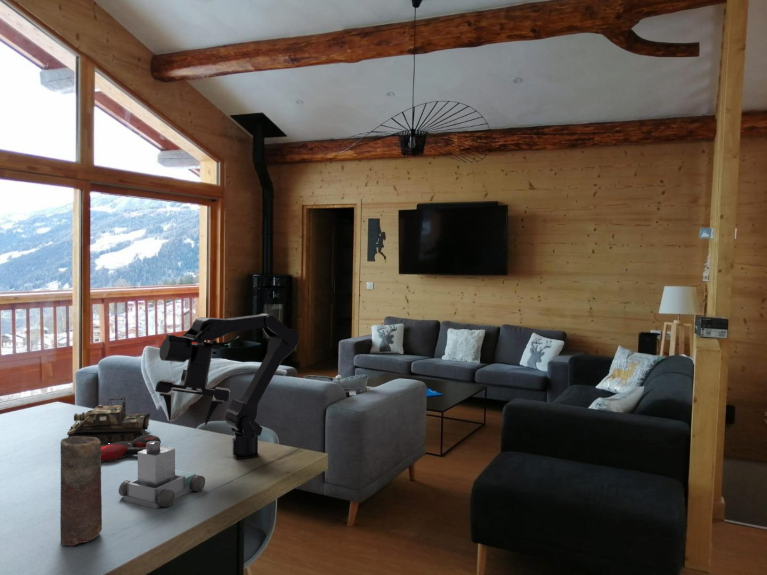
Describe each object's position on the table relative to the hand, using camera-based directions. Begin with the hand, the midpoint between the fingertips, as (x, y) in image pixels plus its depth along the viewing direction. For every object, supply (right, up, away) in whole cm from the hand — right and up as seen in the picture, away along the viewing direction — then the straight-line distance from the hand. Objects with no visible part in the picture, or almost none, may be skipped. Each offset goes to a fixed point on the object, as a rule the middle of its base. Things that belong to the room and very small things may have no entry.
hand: (187, 422), depth 156 cm
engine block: (-1, -12, -18) cm, 22 cm away
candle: (-8, -14, -39) cm, 42 cm away
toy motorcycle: (-23, -12, +9) cm, 28 cm away
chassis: (0, -13, -16) cm, 21 cm away
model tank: (-32, -11, +26) cm, 43 cm away
